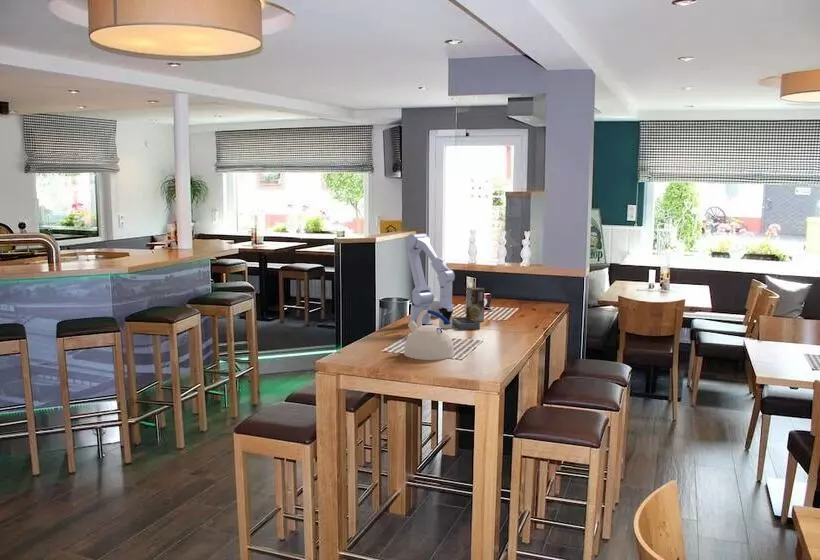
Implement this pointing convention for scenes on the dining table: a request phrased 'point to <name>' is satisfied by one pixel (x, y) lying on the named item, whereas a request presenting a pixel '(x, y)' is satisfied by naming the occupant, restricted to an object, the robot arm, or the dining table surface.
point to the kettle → (428, 340)
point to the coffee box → (475, 303)
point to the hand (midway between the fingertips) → (445, 323)
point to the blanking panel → (441, 323)
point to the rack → (465, 323)
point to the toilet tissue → (436, 306)
